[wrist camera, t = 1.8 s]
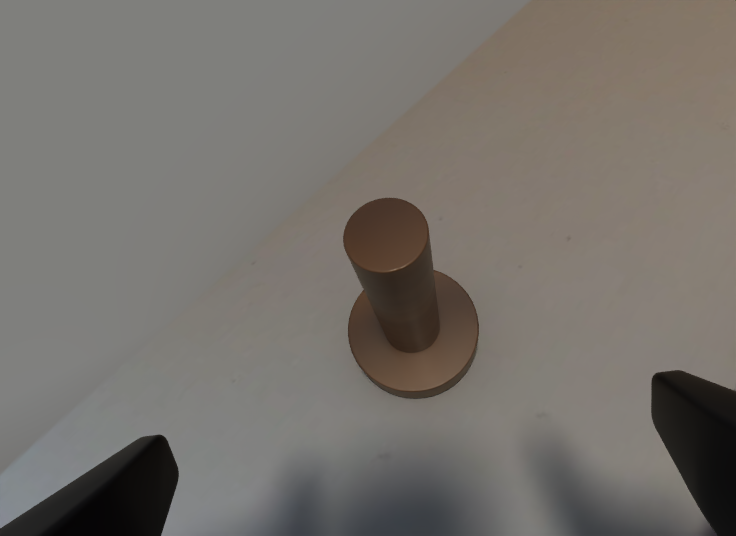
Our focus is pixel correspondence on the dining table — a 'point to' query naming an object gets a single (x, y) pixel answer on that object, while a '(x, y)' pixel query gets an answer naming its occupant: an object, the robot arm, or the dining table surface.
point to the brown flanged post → (406, 304)
